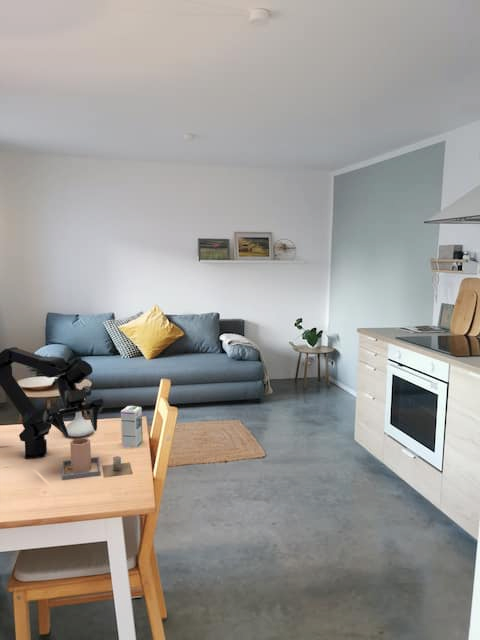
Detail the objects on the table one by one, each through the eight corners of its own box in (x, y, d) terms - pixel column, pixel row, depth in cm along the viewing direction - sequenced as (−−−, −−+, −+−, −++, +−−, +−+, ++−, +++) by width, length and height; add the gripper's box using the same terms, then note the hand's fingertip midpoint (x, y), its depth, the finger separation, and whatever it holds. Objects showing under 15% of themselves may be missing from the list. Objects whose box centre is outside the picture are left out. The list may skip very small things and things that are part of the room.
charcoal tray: (62, 483, 156) (62, 476, 155) (63, 467, 166) (62, 461, 166) (100, 478, 159) (100, 471, 159) (98, 463, 170) (98, 457, 169)
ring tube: (93, 468, 165) (92, 438, 164) (86, 475, 159) (85, 445, 158) (72, 466, 166) (71, 437, 164) (64, 474, 160) (63, 444, 159)
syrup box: (136, 450, 181) (136, 411, 179) (121, 448, 182) (120, 410, 180) (142, 444, 187) (142, 406, 185) (127, 442, 188) (127, 405, 186)
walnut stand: (103, 480, 158) (103, 465, 157) (102, 468, 166) (101, 454, 165) (133, 476, 160) (132, 461, 160) (130, 465, 169) (129, 450, 168)
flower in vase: (86, 426, 204) (84, 366, 201) (99, 434, 196) (98, 371, 192) (54, 434, 195) (52, 371, 192) (67, 442, 187) (64, 377, 184)
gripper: (44, 383, 156) (57, 428, 149) (102, 374, 167) (117, 415, 160) (37, 401, 163) (50, 444, 156) (93, 391, 174) (107, 431, 168)
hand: (82, 433), depth 160 cm, fingers open, 9 cm apart
